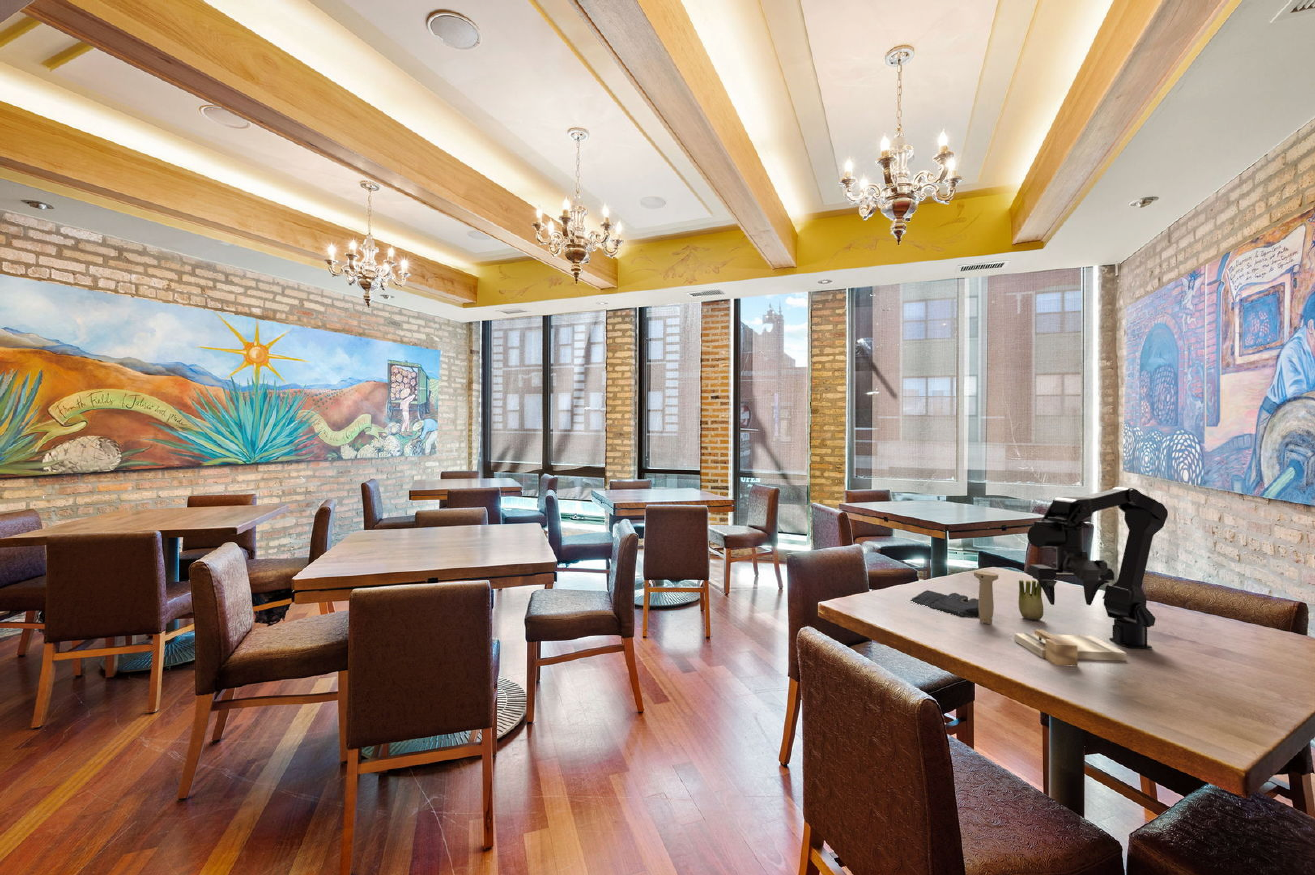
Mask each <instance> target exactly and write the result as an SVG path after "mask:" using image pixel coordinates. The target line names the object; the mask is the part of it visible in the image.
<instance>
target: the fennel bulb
mask: <svg viewBox="0 0 1315 875" xmlns="http://www.w3.org/2000/svg"><path fill="white" fill-rule="evenodd" d="M1018 588H1019V590H1018V609H1019V613H1020V615H1021V617H1023V618H1024V619H1026V620H1029V621H1039V620H1041V619H1042V618H1043V616H1044V605H1043V604H1044V603H1043V598H1042V592H1043V591H1042V590H1043V589H1042V587H1041V585H1040V584H1039V582H1038V581H1037V580H1035V579H1034V580H1026V581H1025V582H1024V580H1023V579H1020V580H1019V581H1018Z"/></svg>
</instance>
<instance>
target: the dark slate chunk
mask: <svg viewBox="0 0 1315 875" xmlns="http://www.w3.org/2000/svg"><path fill="white" fill-rule="evenodd" d="M978 600H979V598H975V597H974V598H970V599H969V596H966V595H964V594H963V595H962V594H959V593H957V592H951V593H949V594H948V595H947V594H943V593H942V592H941V593H940V592H937V591H932V590H929V589H926V590H924V591H922V592H921V593H918V594H917V595H916V596H914V597H912V598H911V599H910V601H913V602H915V603H917V604H916V605H919V604H920V605H919V606H922V605H925V606H928V607H930V608H929V609H931V608H932V609H933V610H935V609H937V610H936V611H938V610H940V611H939V612H942V611H943V613H945V614H948V613H951V614H950V615H952V614H954V615H953V616H955V615H956V616H955V617H959V618H969V619H971V618H975V617H974V616H976V617H980V616H979V609H978V603H979V602H978ZM910 601H909V602H910ZM915 603H914V604H915ZM925 606H924V607H925ZM928 607H927V608H928Z"/></svg>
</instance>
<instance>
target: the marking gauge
mask: <svg viewBox="0 0 1315 875" xmlns="http://www.w3.org/2000/svg"><path fill="white" fill-rule="evenodd" d="M1034 634H1035V635H1037V636H1039V640H1040V641H1042V639H1044V640H1045V642H1046V658H1045V660H1047V661H1048V660H1049V662H1050V663H1052V664H1053V665H1055V666H1065V665H1069V666H1070V665H1073V667H1078V659H1077V645H1075V644H1074V643H1072V642H1070V641H1068V640H1062V639H1058V638H1057V637H1055V636H1053V635H1054V634H1050V633H1049V632H1047V631H1045V630H1044V629H1034ZM1074 665H1075V666H1074Z"/></svg>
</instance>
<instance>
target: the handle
mask: <svg viewBox="0 0 1315 875" xmlns="http://www.w3.org/2000/svg"><path fill="white" fill-rule="evenodd" d="M973 576H974V577H975V578H977V579H978V582H979V587H978V588H979V590H978V599H979V600H978V602H979V603H978V609H979V616H978V618H979V622H980V623H982V624H984V623H986V624H987V625H991V624H993V616H994V604H995V603H994V591H993V589H994V587H993V582H994V581H997V580H998V579H999V574H998V573H995V572H992V571H991V572H990V571H986V570H974V571H973ZM990 623H991V624H990ZM986 624H985V625H986Z"/></svg>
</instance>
